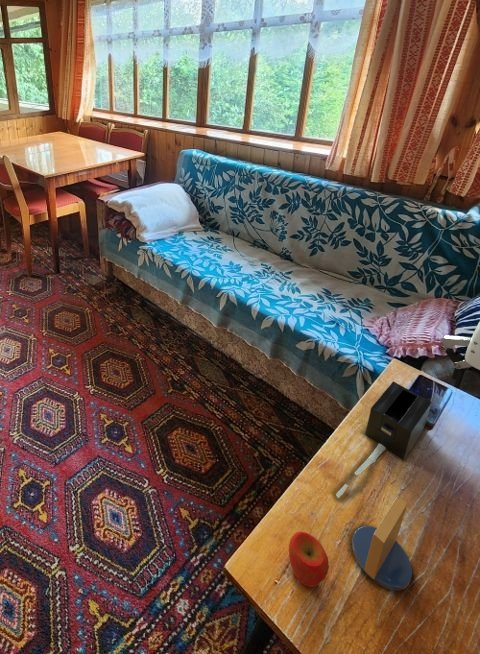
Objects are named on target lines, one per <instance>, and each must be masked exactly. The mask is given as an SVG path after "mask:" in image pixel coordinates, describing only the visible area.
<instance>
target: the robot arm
mask: <svg viewBox="0 0 480 654" xmlns="http://www.w3.org/2000/svg"><path fill="white" fill-rule="evenodd" d="M440 340H441V343H442V345H443V348H444V350H445V351H444V352H445V354H446V355H447V357H448V358H449V360H450V361H451V363H452V366H453V367H454V369H453V372H452V375H451V379H452V380H454V385H453V388H456V389H460V388H461V387H462V385H463V384H464V382H465V379H466V376H467V373H468V371H469V368H472V367H473V368H475V369H477V370H478V371H480V321H479V322H478V324H477V326H476V328H475V329H474V332H473V334H472V336H463V335H462V336H460V335H450V334H449V335H448V334H444V335H443V336H442V337H441V339H440ZM456 346H457V347H458V346H459V347H467V349H466V351H465V353H464V354H461V352H460V351H459V350H458V349H457V348H456Z"/></svg>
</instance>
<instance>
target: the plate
mask: <svg viewBox="0 0 480 654" xmlns="http://www.w3.org/2000/svg"><path fill="white" fill-rule="evenodd" d="M377 528H378V527H375V526H370V525H364V526H361V527H358V528H357V529H356V530H355V531H354V533H353V536H352V541H351V549H352V552H353V556H354V558H355V560H356V563H357V564H358V566H359V567H360V569H361V570H362V571H363V572H364V573H365V574H366V576H367V577H368V578H369V579H371V580H372V581H373V582H374V583H376V584H377V585H379V586H381V587H382V588H384V589H386V590H389V591H395V592H397V591H399V592H400V591H404V590H405V589H407V588H408V586H410V583H411V580H412V577H413V569H412V565H411V561H410V559H409V557H408V555H407V553H406V552H405V550H404V548H403V547H402V546H401V545H400V543H399V542H398V541H397V540H396V542H395V543H394V545H393V547H392V549H391V550H390V552H389V554H388V556H387V557H386V559H385V561H384V563H383V564H382V566H381V568H380V570H379V571H378V573H377V575H376V577H375V578H374V579H373V578H372V577H371V576H370V575H368V574H367V573H366V572H365V571H364V568H365V565H366V561H367V557H368V553H369V550H370V546H371V542H372V538H373V535H374V533H375V531H376V529H377Z"/></svg>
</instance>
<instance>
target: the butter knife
mask: <svg viewBox="0 0 480 654" xmlns="http://www.w3.org/2000/svg"><path fill="white" fill-rule="evenodd" d="M386 450H387V449H386V448H385V447H384V446H383V445H381V444H378V443H377V446H376V447H375V448H374V450H373V451H372V452H371V454H370V455H369V456H368V458H366V460H365V461H364V462H363V463H362V464H361V465H359V467H358V468H357V470H356V471H354V475H355V476H358V475H359V474H361V473H362V472H364V471H365V470H366V469H367V468H368V467H369V466H370V465H371V464H373V463H375V462H376V461H377V459H378V458H379V457H380V456H381V454H382V453H383V452H384V451H386ZM348 487H349V485H348V484H347V483H344V485H343V486H342V487H341V488H340V489H339V490H338V491H337V492H336V493H335V495H336V497H337V499H339V498H341V496H343V494H344V493H345V491H346V490H347V488H348Z"/></svg>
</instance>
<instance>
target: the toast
mask: <svg viewBox="0 0 480 654" xmlns="http://www.w3.org/2000/svg"><path fill="white" fill-rule="evenodd" d="M407 507H408V503H407V502H406V501H404V500H403V499H401V498H400V497H399V496H396V497H395V499H394V501H393V502H392V504H391V505H390V507H389V509H388V510H387V511H386V514H385V515H384V517H383V518H382V520H381V521H380V523H379V524H378V526H377V527H376V528H377V529H376V531H375V533H374V535H373V538H372V542H371V546H370V550H369V553H368V557H367V561H366V565H365V568H364V571H365V572H366V573H367V574H368V575H370V576H371V577H372V578H373V579H374V578H375V577H376V575H377V573H378V571H379V570H380V568H381V566H382V564H383V563H384V561H385V559H386V557H387V556H388V554H389V552H390V550H391V549H392V547H393V545H394V543H395V542H396V541H397V540H398V538H399V537H398V536H399V533H400V530H401V527H402V523H403V520H404V517H405V513H406V510H407ZM364 571H363V572H364ZM365 572H364V573H365ZM366 573H365V574H366ZM367 574H366V575H367ZM368 575H367V576H368Z"/></svg>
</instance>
